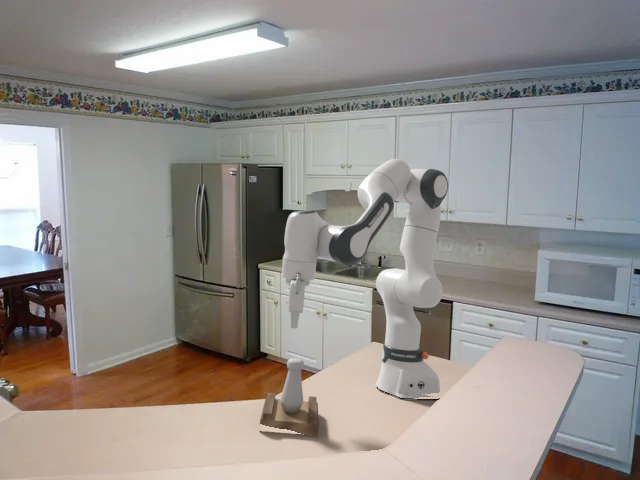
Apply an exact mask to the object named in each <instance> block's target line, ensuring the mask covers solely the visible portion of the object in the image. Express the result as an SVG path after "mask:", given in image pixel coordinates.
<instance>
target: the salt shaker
mask: <svg viewBox="0 0 640 480" xmlns="http://www.w3.org/2000/svg"><path fill="white" fill-rule="evenodd" d="M286 368H287V369H288V371H287V374H286V377H285V383H284V385H283V389H282V393H281V396H280V402H281V405H282V409H283V410H284V411H285V412H287V413H292V414H293V413H297V412H299V410H300V408H301V406H302V404H303V401H304V394H303V384H302V383H303V381H302V371H303V369H304V368H305V362H304V360H303V359H301V358H297V357H296V358H295V357H294V358H293V357H292V358H290V359H288V360H287V362H286Z"/></svg>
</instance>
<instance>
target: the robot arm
mask: <svg viewBox="0 0 640 480" xmlns="http://www.w3.org/2000/svg"><path fill="white" fill-rule="evenodd" d="M357 187H358V188H357V199H358V201H359V203H360V205H361V207H362V208H363V209H364V210H365V211H364V212H363V213H362V214H361V216H360V217H359V219H358V220H357V221H356V222H354V223H353V224H349V225H333V224H330V223H329V222H327V221H325V220H324V219H323V218H322V217H321V216H320V215H319V213H318V212H317V211H315V210H310V209H307V210H303V209H302V210H295V211H292V212H291V213H290V214H289V215H288V217H287V219H286V220H287V221H286V225H285V230H284V240H283V241H284V243H283V244H284V254H283V256H282V263H281V264H282V266H281V275H280V276H281V277H282V278H284V279H285V284H286V285H288V287H289V289H288V291H289V293H288V305H287V306H288V307H287V308H288V309H287V311H288V313H290V328H291V329H297V328H299V319H300V314H302V313H303V312H304V303H305V292H306V291H305V289H306V287H309V286H310V284H311V283H310V282H311V281H314V280H315V279H316V272H317V271H316V269H317V259H321V260H323V261H324V260H326V261H329V262H335V263H339V264H341V265H345V266H355V265H357V264H358V263H360V262H361V261H362V260H363V258H364V257H365V256H366V254H367V251H368V249H369V247H370V245H371V243H372V241H373V239H374V238H375V237H376V235H377V234H378V233H379V231H380V230H381V228H382V227H383V225H384V224H385V222H386V221H387V220H388V219H389V217H390V216H391V213H392V212H393V210H394V204H395V203H403V204H408V207H409V210H408V213H407V216H406V220H405V222H404V227H403V231H402V236H401V238H400V239H401V241H400V243H399V244H400V245H399V251H400V253H401V255H403V258H404V261H405V265H404V267H405V268H399V267H398V268H394V267H393V268H387V269H384V270H381V271H380V272H379V273H378V276H377V277H376V280H375V287H376V291H377V292H378V294H379V295H380V298H381V299H382V303H383V306H384V311H385V318H386V325H385V336H384V337H385V339H384V343H383V346H382V349H381V366H380V370H379V371H380V372H379V374H378V377H377V381H376V383H375V386H376V385H377V387H378V388H379V389H381V390H383V391H385V392H388V393H391V394H394V395H396V396H398V397H400V398H419V397H431V396H428V395H425V394H431V393H439V392H440V387H441V385H440V384H441V383H440V378H439V376H438V374H437V373H436V371H435V370H434V369H433V368H432V367H431V366H430V365H429V364H428V363H427V362H426V361H425V360H428V359H429V356H430V355H429V354H428V352H427V351H424V350H423V349H421V348H420V339H421V331H422V325H421V321H419V319H418V318H417V316H416V314H415V311H414V308H419V309H423V308H424V309H429V308H431V309H432V308H434V307H436V306H437V305H438V304H439V303H440V301H441V300H442V297H443V291H444V290H443V286H442V283H441V281H440V280H439V279H438V277H437V274H436V271H435V266H434V254H435V249H436V243H437V239H438V235H439V231H440V224H441V214H442V212H441V211H442V210H441V209H442V208H441V204H442V202H444V200H445V198H446V196H447V194H448V190H449V181H448V178H447V176H446V174H445V173H444V172H443V171H442V170H439V169H434V168H428V169H427V168H410V166H409V165H408V163H406V162H405V161H404V160H402V159H398V158H391V159H389V160H387V161H385V162H383V163H382V164H380V165H378V166H377V167H376V168H375V169H373V170H372V171H371V172H370V173H369V174H368V175H367V176H366V177H365V178H364V179H363V180H362V181H361V182H360V184H359V186H357ZM379 389H378V390H379ZM385 392H384V393H385ZM391 394H390V395H391ZM422 394H423V395H422ZM394 395H393V396H394ZM396 396H395V397H396ZM398 397H397V398H398ZM432 397H433V396H432ZM400 398H399V399H400Z"/></svg>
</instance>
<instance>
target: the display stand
mask: <svg viewBox="0 0 640 480" xmlns="http://www.w3.org/2000/svg"><path fill="white" fill-rule="evenodd" d="M280 399H281V398H280ZM280 399H279V398H276V393H275V392H267V396H266V398H265V400H264V404H263V408H262V411H261V415H260V420H259V425H260V424H262V425H265V426H269V427H274V428H279V429H287V430H291V431H295V432H297V433H301V434H304V435H308V436H307V437H316V438H317V437H319V424H320V422H319V421H320V420H319V404H318V402H317V396H310V395H309V396H308V401H305V400H303V404H302V406H301V408H300V410H299V412H297V413H293V414H292V413H287V412H285V411H284V410H283V409H282V405H281V402H280ZM304 435H303V436H304Z"/></svg>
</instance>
